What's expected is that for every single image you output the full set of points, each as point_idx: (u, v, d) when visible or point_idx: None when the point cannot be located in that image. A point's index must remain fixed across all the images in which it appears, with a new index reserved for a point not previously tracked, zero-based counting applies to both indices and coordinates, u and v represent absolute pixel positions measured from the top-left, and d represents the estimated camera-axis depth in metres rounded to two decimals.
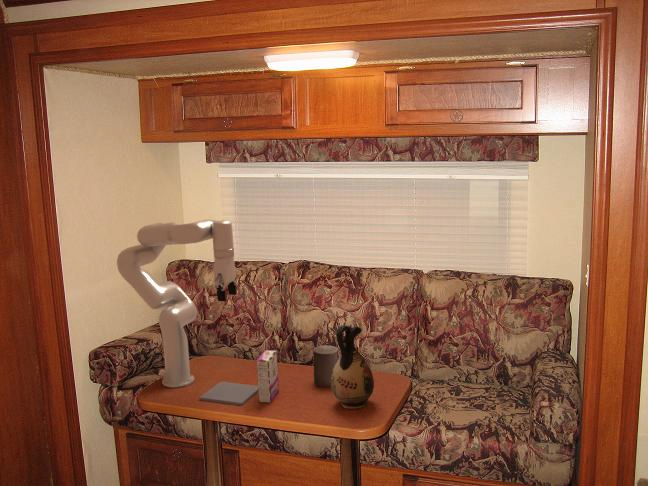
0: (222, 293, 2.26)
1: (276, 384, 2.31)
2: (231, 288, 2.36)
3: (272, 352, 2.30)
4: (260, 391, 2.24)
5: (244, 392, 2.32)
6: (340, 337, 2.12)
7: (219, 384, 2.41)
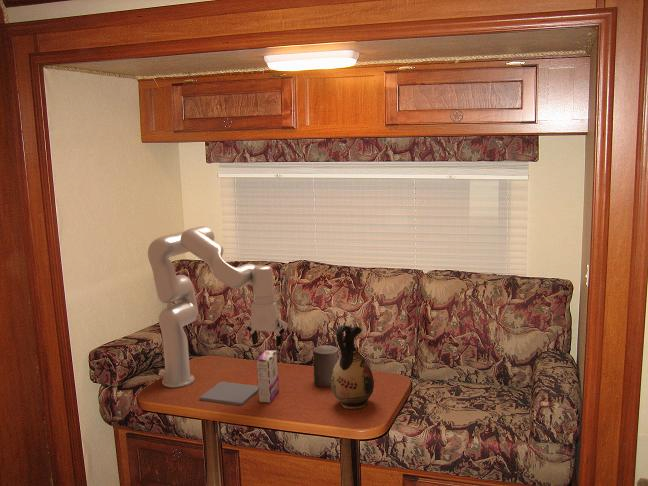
0: None
1: (276, 384, 2.31)
2: (256, 337, 2.27)
3: (272, 352, 2.30)
4: (260, 391, 2.24)
5: (244, 392, 2.32)
6: (340, 337, 2.12)
7: (219, 384, 2.41)
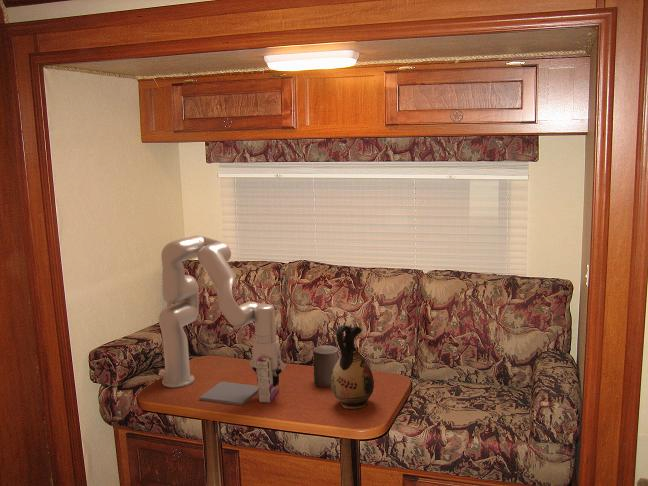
0: None
1: None
2: None
3: None
4: (260, 391, 2.24)
5: (244, 392, 2.32)
6: (340, 337, 2.12)
7: (219, 384, 2.41)
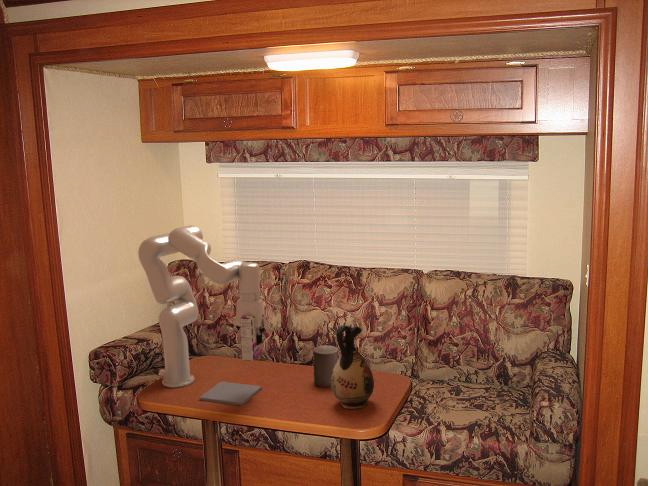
0: None
1: None
2: None
3: None
4: (243, 349, 2.23)
5: (244, 392, 2.32)
6: (340, 337, 2.12)
7: (219, 384, 2.41)
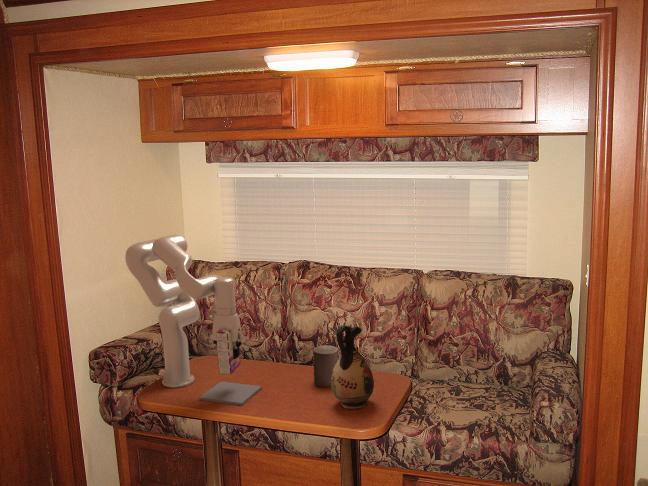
0: None
1: None
2: None
3: None
4: (220, 363, 2.26)
5: (244, 392, 2.32)
6: (340, 337, 2.12)
7: (219, 384, 2.41)
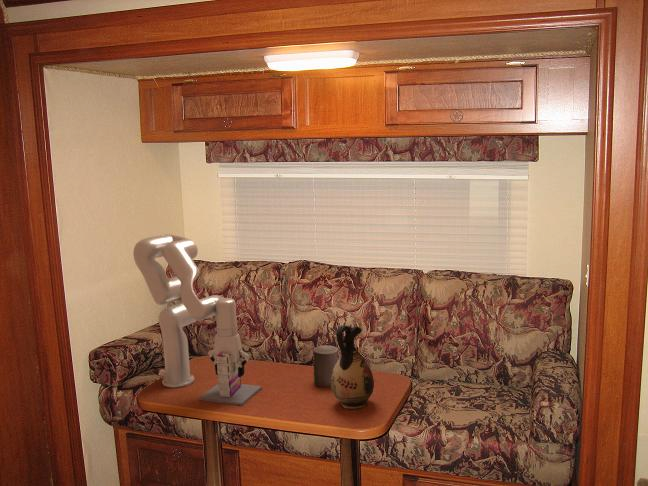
0: None
1: (237, 379, 2.34)
2: None
3: None
4: (220, 386, 2.28)
5: (244, 392, 2.32)
6: (340, 337, 2.12)
7: None
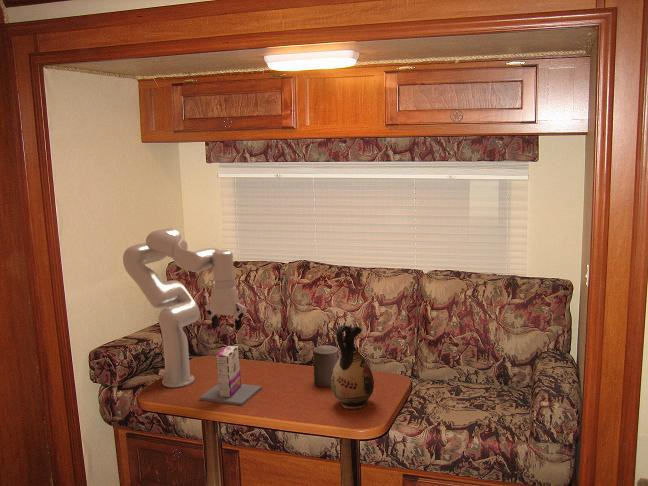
0: None
1: (237, 379, 2.34)
2: (215, 320, 2.30)
3: (233, 348, 2.33)
4: (220, 386, 2.28)
5: (244, 392, 2.32)
6: (340, 337, 2.12)
7: None
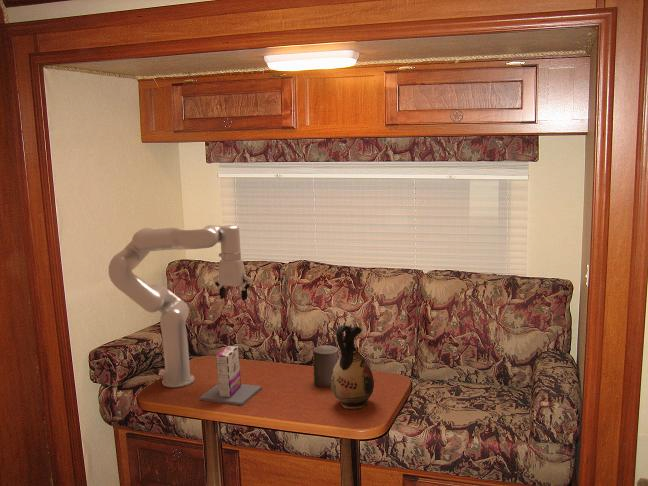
0: None
1: (237, 379, 2.34)
2: (223, 292, 2.44)
3: (233, 348, 2.33)
4: (220, 386, 2.28)
5: (244, 392, 2.32)
6: (340, 337, 2.12)
7: None
